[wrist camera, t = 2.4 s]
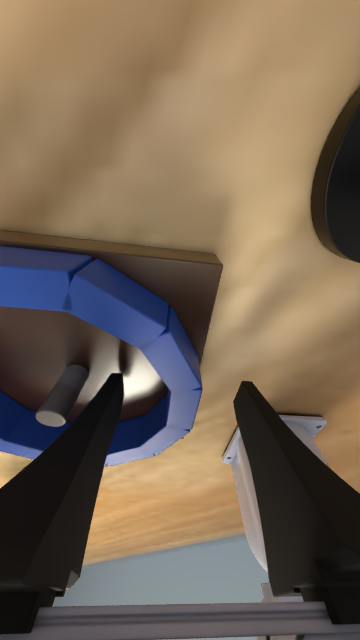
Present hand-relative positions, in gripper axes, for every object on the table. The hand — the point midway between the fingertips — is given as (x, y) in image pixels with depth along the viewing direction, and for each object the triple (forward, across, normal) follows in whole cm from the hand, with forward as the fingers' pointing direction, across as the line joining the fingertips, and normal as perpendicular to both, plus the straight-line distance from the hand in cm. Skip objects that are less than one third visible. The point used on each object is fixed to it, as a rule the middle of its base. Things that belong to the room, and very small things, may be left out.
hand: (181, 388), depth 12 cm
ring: (+1, +6, 0) cm, 7 cm away
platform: (+3, +6, 0) cm, 7 cm away
